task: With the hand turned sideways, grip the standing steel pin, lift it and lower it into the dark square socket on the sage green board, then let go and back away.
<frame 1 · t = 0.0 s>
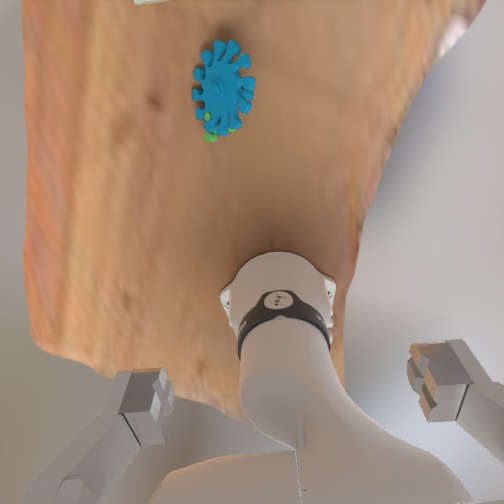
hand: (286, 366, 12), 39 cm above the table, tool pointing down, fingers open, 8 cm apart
gear: (223, 92, 43), on the table
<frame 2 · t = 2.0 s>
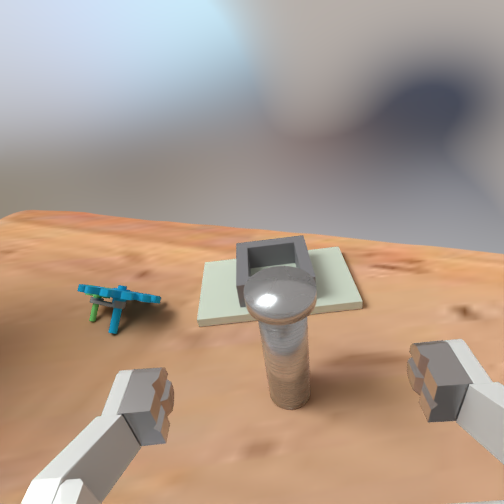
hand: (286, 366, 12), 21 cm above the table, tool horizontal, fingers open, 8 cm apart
gear: (127, 316, 47), on the table
pin: (289, 390, 34), on the table
socket board: (275, 286, 47), on the table
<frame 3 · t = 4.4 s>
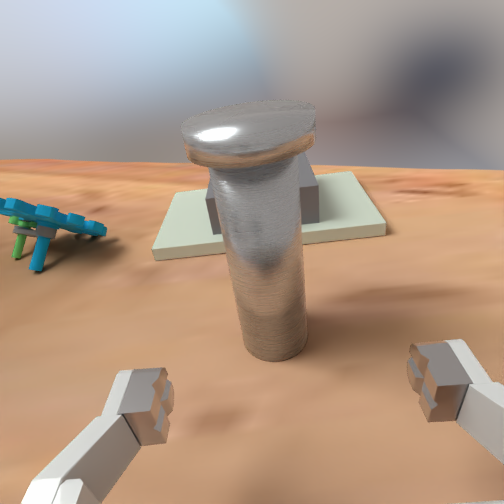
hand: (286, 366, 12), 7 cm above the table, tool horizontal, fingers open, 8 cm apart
gear: (64, 253, 35), on the table
pin: (275, 335, 22), on the table
socket board: (265, 215, 35), on the table
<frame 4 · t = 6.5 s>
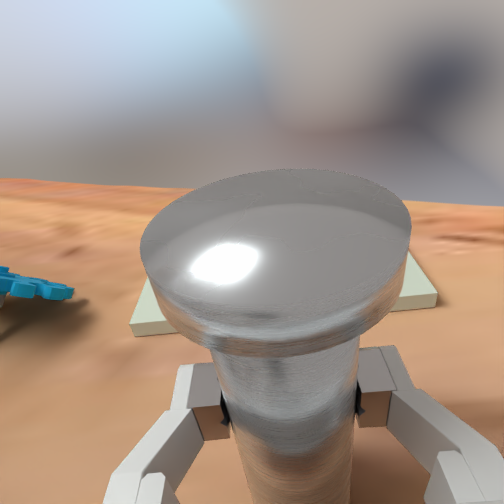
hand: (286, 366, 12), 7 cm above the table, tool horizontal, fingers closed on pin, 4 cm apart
gear: (19, 319, 27), on the table
pin: (300, 492, 15), on the table, touching gripper
socket board: (274, 269, 28), on the table
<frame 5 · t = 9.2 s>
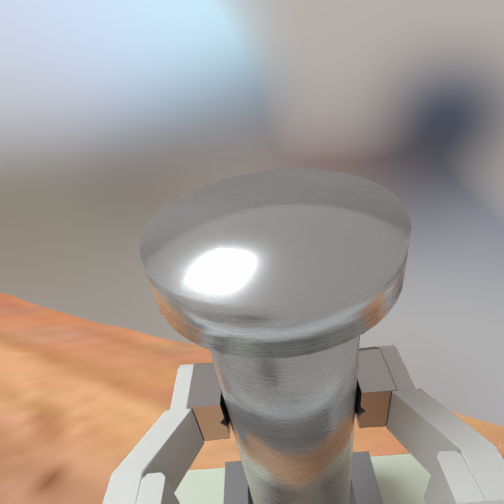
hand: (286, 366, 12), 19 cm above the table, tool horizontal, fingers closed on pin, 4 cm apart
pin: (300, 492, 15), point 12 cm above the table, touching gripper
when the fingers open (10 cm above the table, at t = 11.8 s): pin drops 1 cm, resting on socket board.
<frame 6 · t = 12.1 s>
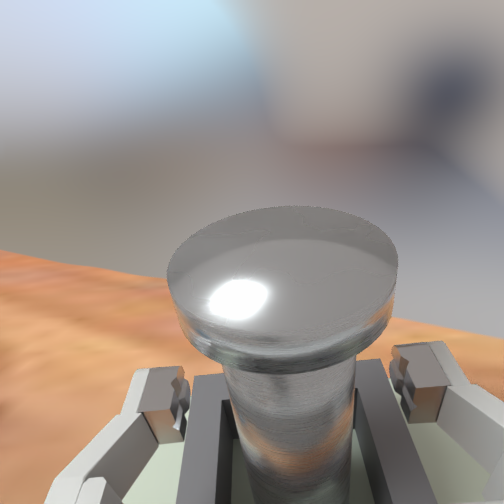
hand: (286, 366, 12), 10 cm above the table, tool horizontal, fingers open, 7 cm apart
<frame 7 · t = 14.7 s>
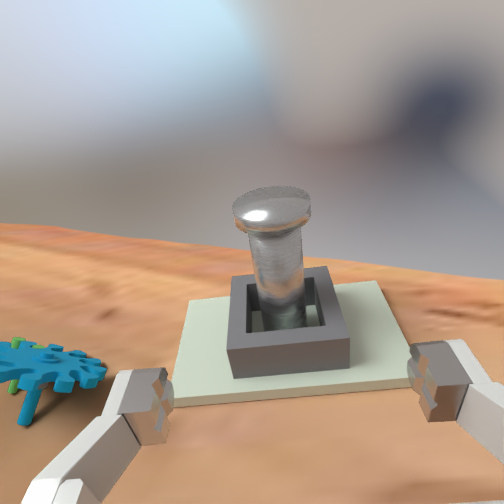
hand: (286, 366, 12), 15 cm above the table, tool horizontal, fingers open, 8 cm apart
gear: (60, 391, 32), on the table
pin: (286, 331, 32), point 1 cm above the table, touching socket board
socket board: (286, 340, 33), on the table
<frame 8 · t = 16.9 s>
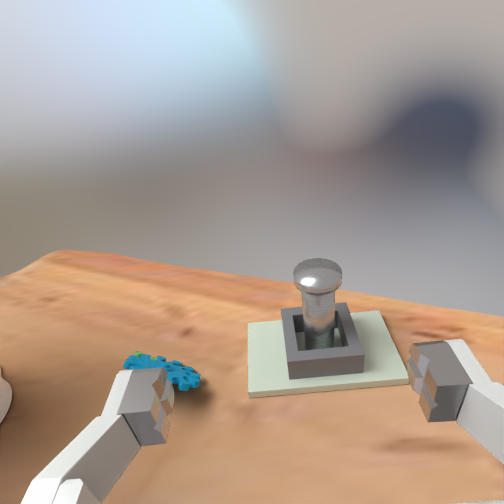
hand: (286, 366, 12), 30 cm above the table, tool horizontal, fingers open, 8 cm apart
gear: (168, 388, 47), on the table
pin: (319, 347, 48), point 1 cm above the table, touching socket board
socket board: (319, 353, 49), on the table
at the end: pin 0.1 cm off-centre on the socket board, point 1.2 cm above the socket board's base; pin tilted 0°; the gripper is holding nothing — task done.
